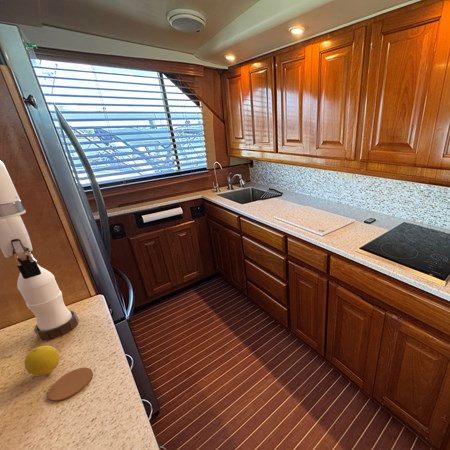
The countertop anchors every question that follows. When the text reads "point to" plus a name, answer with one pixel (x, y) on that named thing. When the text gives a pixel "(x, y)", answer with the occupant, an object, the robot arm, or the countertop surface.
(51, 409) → the countertop surface
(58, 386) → the cork coaster
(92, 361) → the countertop surface
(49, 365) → the lemon
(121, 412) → the countertop surface
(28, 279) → the water bottle
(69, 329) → the ring
